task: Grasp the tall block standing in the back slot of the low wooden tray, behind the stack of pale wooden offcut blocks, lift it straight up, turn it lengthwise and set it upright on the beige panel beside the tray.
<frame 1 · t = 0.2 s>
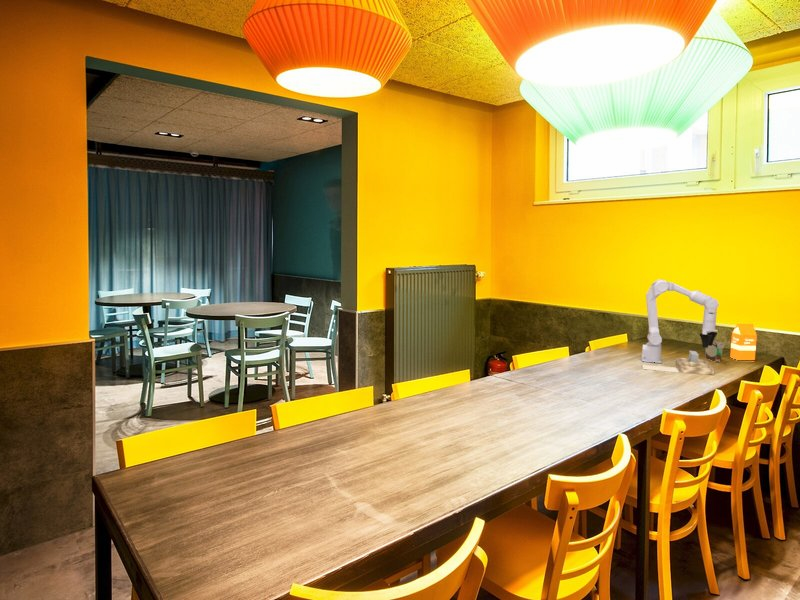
hand: (707, 346, 273), 10 cm above the table, tool pointing down, fingers open, 7 cm apart
beige panel: (659, 368, 265), on the table
orange juice: (742, 360, 288), on the table
offcut block right: (702, 373, 258), resting in wooden tray
offcut block top: (695, 367, 259), point 2 cm above the table
food container: (715, 361, 285), on the table
tall block: (692, 367, 268), resting in wooden tray
wooden tray: (693, 368, 266), on the table
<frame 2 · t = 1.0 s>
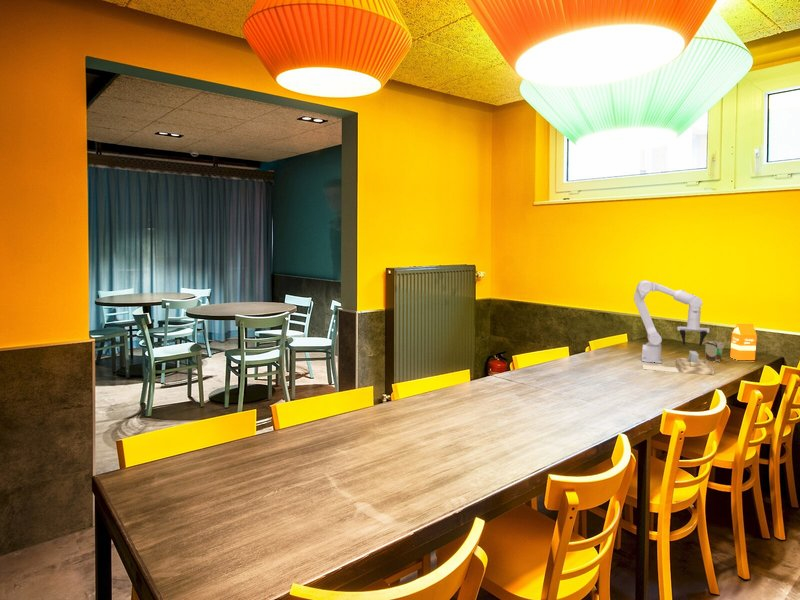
hand: (692, 344, 275), 10 cm above the table, tool pointing down, fingers open, 7 cm apart
offcut block right: (703, 373, 258), resting in wooden tray, touching offcut block top
offcut block top: (696, 368, 259), point 2 cm above the table, touching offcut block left, offcut block right
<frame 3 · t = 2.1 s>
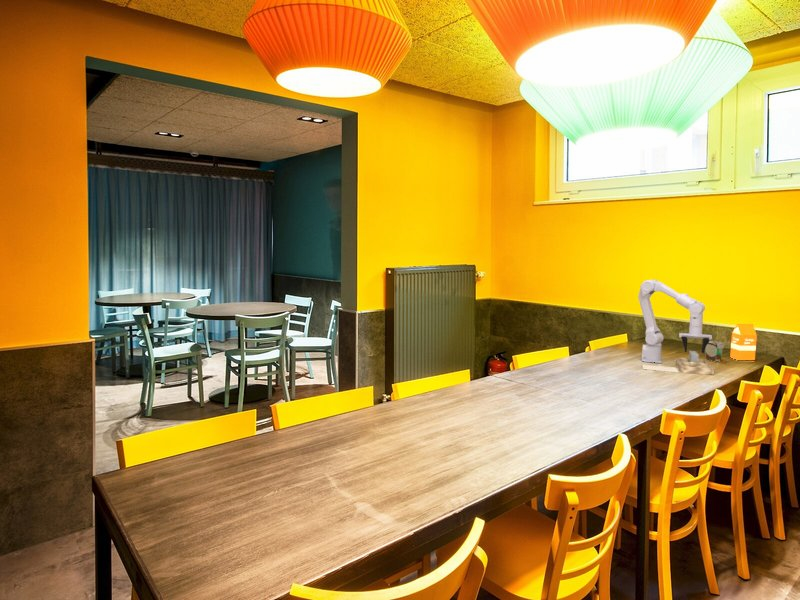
hand: (694, 352, 267), 8 cm above the table, tool pointing down, fingers open, 7 cm apart
offcut block right: (703, 373, 258), resting in wooden tray
offcut block top: (695, 367, 259), point 2 cm above the table
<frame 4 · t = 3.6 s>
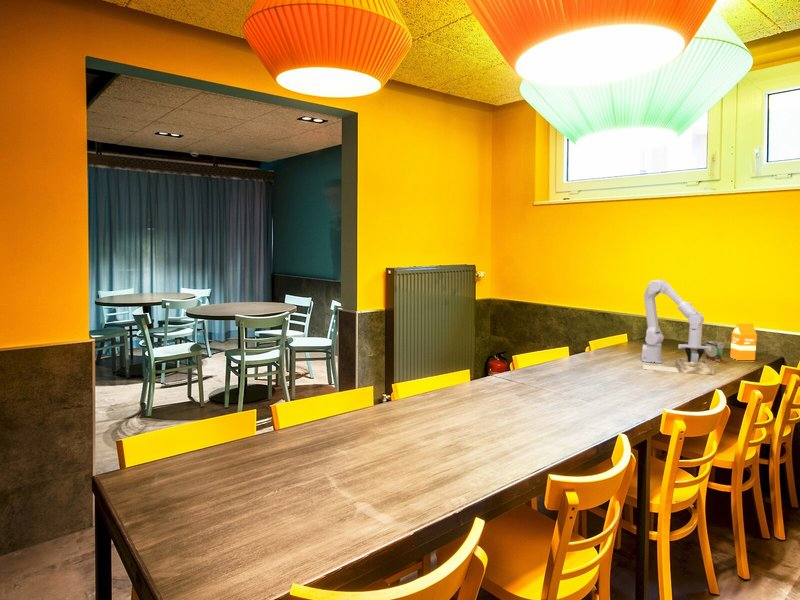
hand: (693, 363, 268), 2 cm above the table, tool pointing down, fingers closed on tall block, 3 cm apart
tall block: (692, 367, 268), resting in wooden tray, touching gripper
everything else where it was.
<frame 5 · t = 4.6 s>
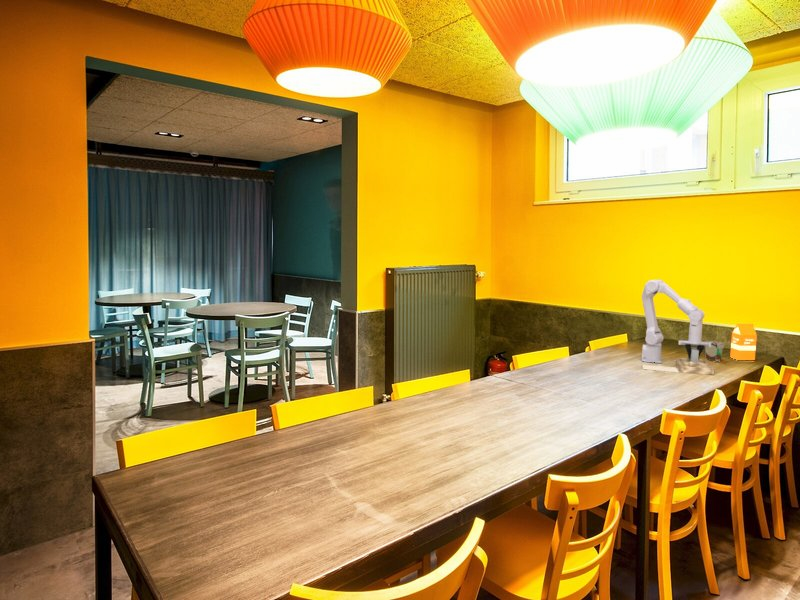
hand: (693, 359, 268), 4 cm above the table, tool pointing down, fingers closed on tall block, 3 cm apart
tall block: (693, 364, 268), point 2 cm above the table, touching gripper
everything else where it was.
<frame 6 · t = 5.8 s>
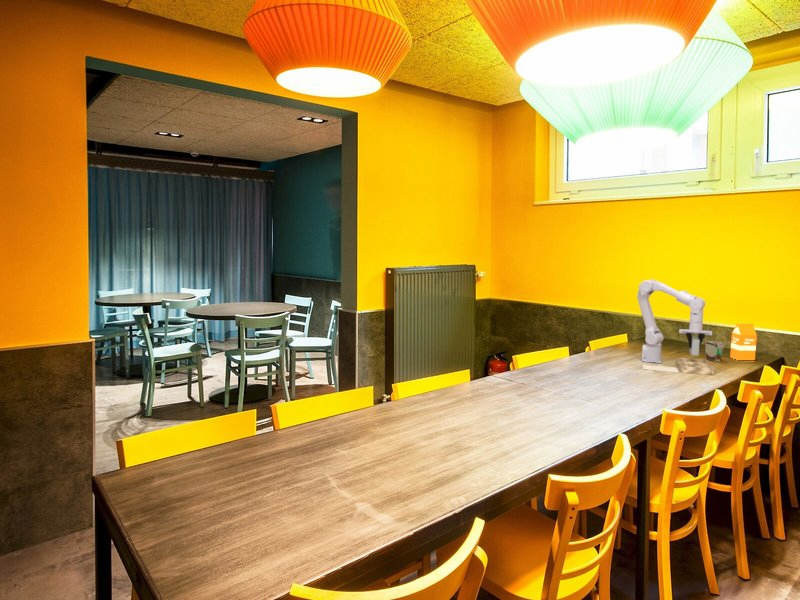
hand: (694, 348, 267), 10 cm above the table, tool pointing down, fingers closed on tall block, 3 cm apart
offcut block right: (703, 373, 258), resting in wooden tray, touching offcut block top
offcut block top: (694, 367, 259), point 2 cm above the table, touching offcut block right
tall block: (693, 353, 267), point 7 cm above the table, touching gripper
everything else where it was.
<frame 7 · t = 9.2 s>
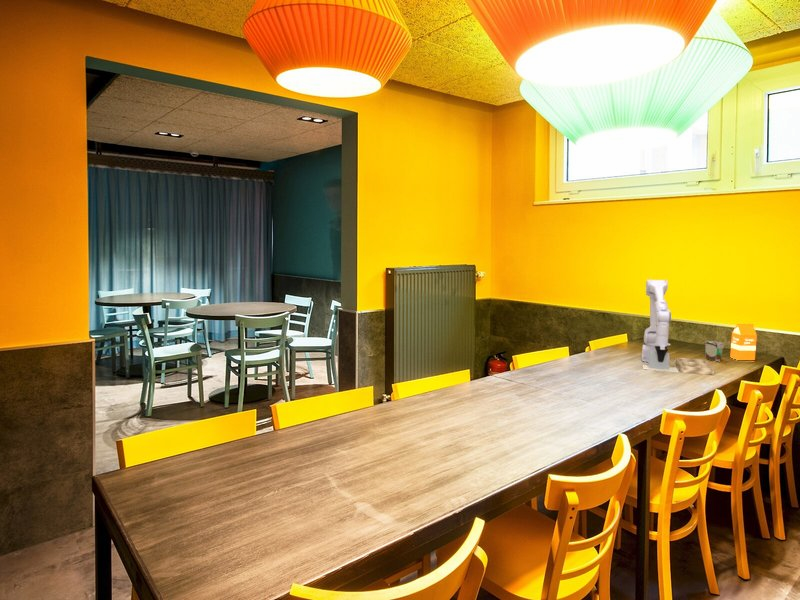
hand: (660, 361, 265), 4 cm above the table, tool pointing down, fingers closed on tall block, 3 cm apart
offcut block right: (703, 373, 258), resting in wooden tray, touching offcut block top
offcut block top: (694, 367, 259), point 2 cm above the table, touching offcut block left, offcut block right
tall block: (658, 368, 265), resting on beige panel, touching gripper
when the fingers open (4 cm above the table, at t = 9.4 s): tall block stays where it is, resting on beige panel.
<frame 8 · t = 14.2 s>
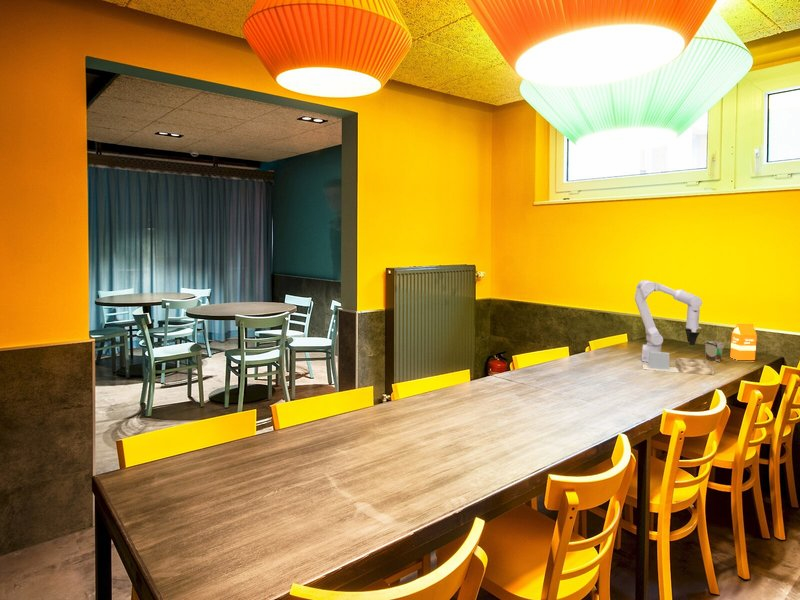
hand: (691, 343, 278), 10 cm above the table, tool pointing down, fingers open, 7 cm apart
tall block: (658, 368, 265), resting on beige panel
everything else where it was.
at the end: tall block inside the target area on the beige panel (0.7 cm from its centre), point 0.4 cm above the beige panel's base; tall block tilted 0°; offcut block top moved 0.4 cm from its start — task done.
